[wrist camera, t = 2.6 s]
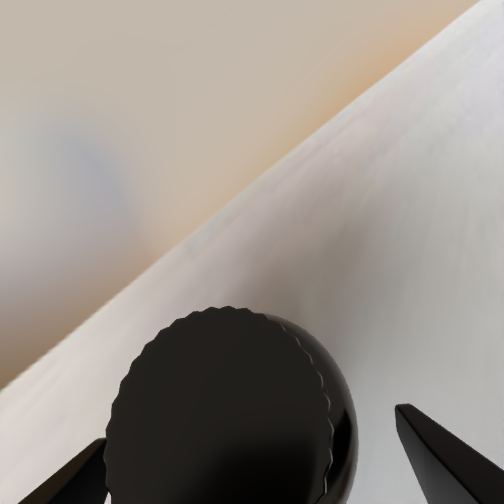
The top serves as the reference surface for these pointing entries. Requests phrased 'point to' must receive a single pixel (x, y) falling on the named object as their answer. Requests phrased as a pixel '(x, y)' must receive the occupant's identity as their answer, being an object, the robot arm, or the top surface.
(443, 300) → the top surface
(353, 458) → the supplement bottle
